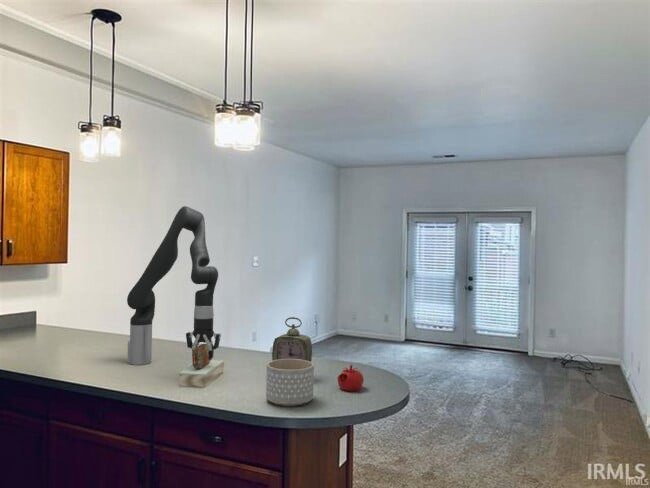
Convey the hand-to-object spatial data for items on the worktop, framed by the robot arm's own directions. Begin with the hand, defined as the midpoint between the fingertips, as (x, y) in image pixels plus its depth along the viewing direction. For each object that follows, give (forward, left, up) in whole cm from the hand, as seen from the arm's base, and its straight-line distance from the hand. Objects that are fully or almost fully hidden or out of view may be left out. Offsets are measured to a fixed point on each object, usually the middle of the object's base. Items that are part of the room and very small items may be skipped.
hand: (202, 358), depth 201 cm
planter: (+39, -20, -8) cm, 45 cm away
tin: (0, 0, -3) cm, 3 cm away
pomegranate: (+59, -2, -8) cm, 60 cm away
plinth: (0, 0, -8) cm, 8 cm away
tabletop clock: (+35, +7, -8) cm, 37 cm away
